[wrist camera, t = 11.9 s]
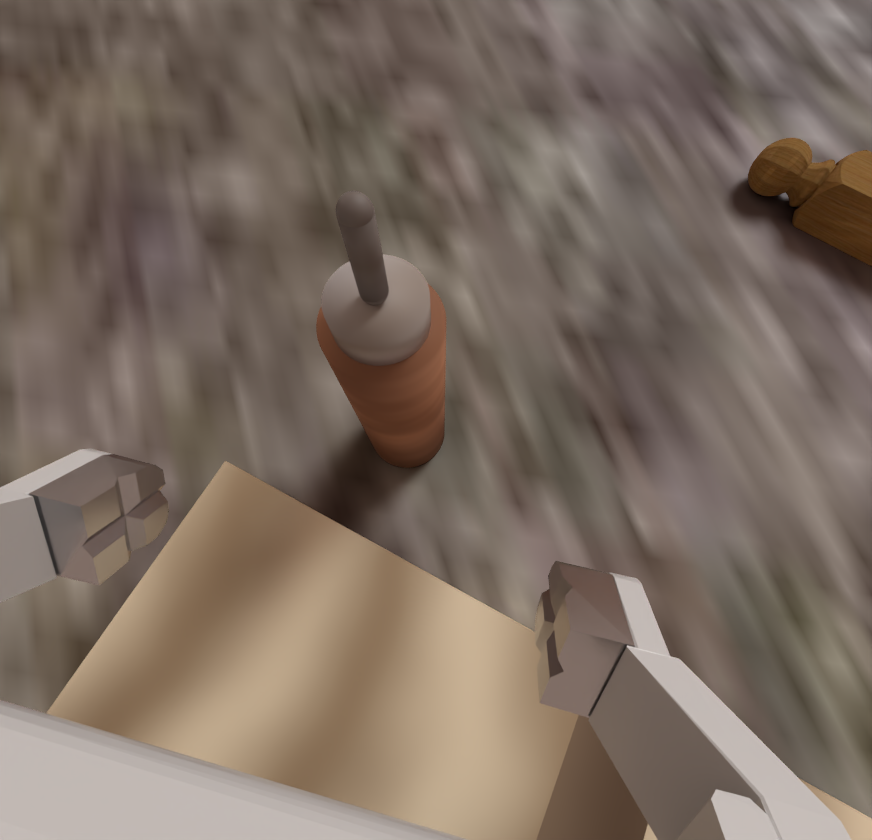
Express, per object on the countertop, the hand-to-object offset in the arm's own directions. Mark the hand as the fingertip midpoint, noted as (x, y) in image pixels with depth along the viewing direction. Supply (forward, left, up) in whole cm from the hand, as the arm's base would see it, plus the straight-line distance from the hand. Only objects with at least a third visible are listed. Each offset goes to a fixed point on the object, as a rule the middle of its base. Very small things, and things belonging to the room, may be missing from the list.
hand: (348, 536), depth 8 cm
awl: (-2, +5, -10) cm, 11 cm away
